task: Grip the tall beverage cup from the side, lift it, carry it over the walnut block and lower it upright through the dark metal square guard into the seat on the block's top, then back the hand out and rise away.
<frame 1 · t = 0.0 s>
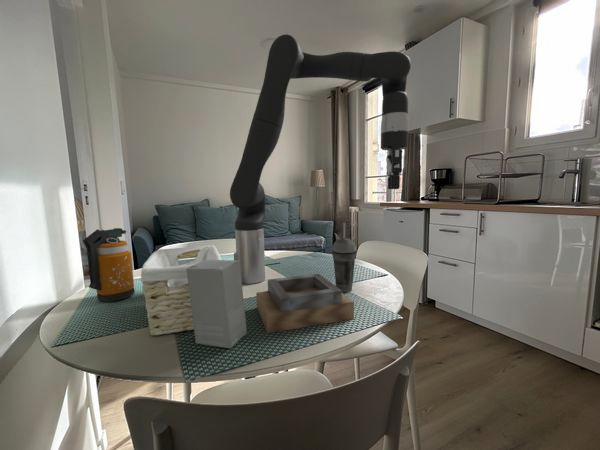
hand: (393, 189, 83), 29 cm above the table, tool pointing down, fingers open, 8 cm apart
canister: (113, 299, 81), on the table
skincare box: (219, 340, 57), on the table
storage basket: (188, 313, 71), on the table
cup block: (302, 312, 69), on the table
beverage cup: (344, 290, 85), on the table
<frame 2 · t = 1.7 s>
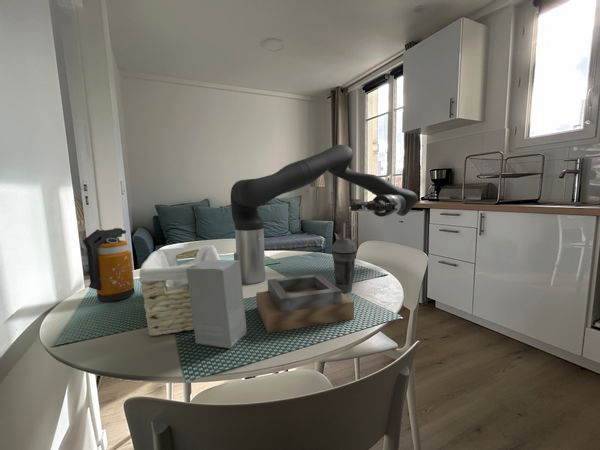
hand: (363, 208, 90), 24 cm above the table, tool horizontal, fingers open, 8 cm apart
nothing on the table moved.
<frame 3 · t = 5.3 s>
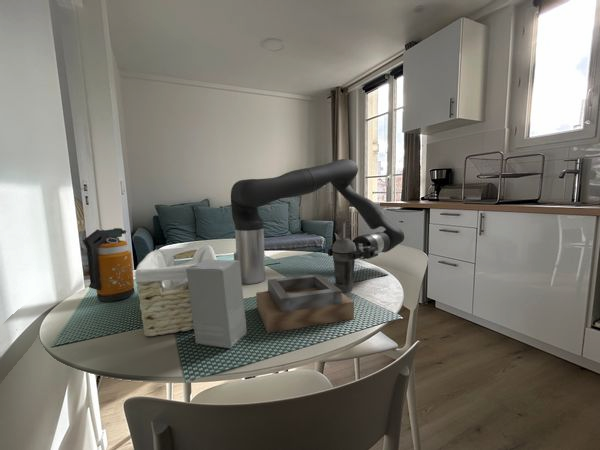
hand: (340, 254, 82), 11 cm above the table, tool horizontal, fingers closed on beverage cup, 7 cm apart
beverage cup: (344, 290, 85), on the table, touching gripper
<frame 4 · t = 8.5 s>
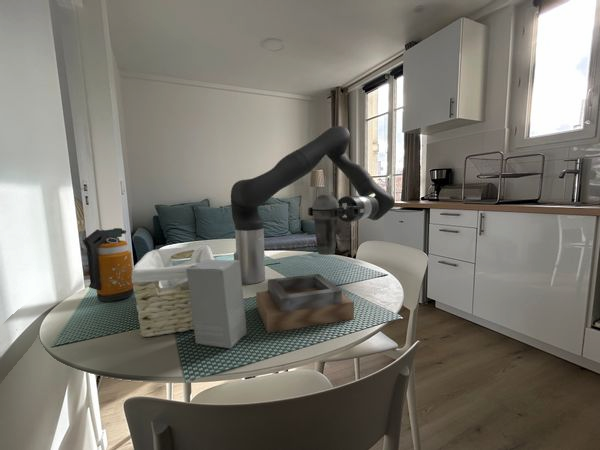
hand: (321, 212, 73), 24 cm above the table, tool horizontal, fingers closed on beverage cup, 7 cm apart
beverage cup: (326, 253, 76), point 13 cm above the table, touching gripper
when the fingers open (16 cm above the table, at t = 11.2 s): beverage cup drops 1 cm, resting on cup block.
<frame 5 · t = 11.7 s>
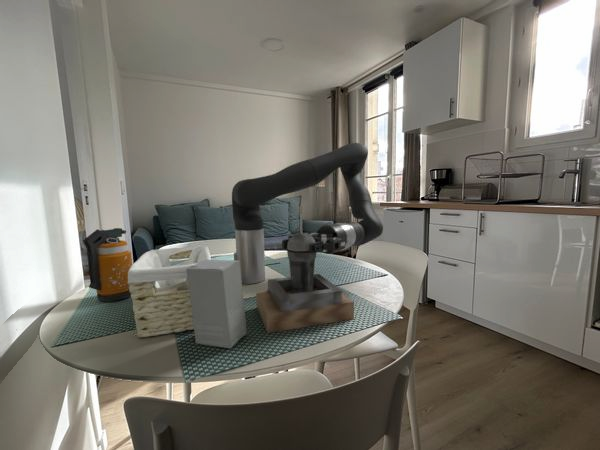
hand: (296, 246, 66), 17 cm above the table, tool horizontal, fingers open, 8 cm apart
beverage cup: (302, 297, 69), point 4 cm above the table, touching cup block
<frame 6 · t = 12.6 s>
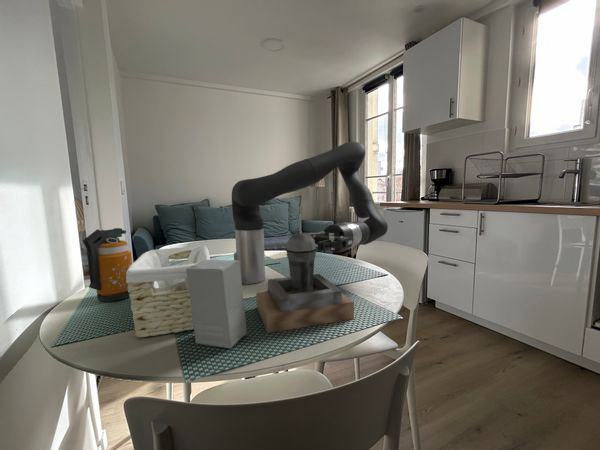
hand: (304, 244, 68), 16 cm above the table, tool horizontal, fingers open, 8 cm apart
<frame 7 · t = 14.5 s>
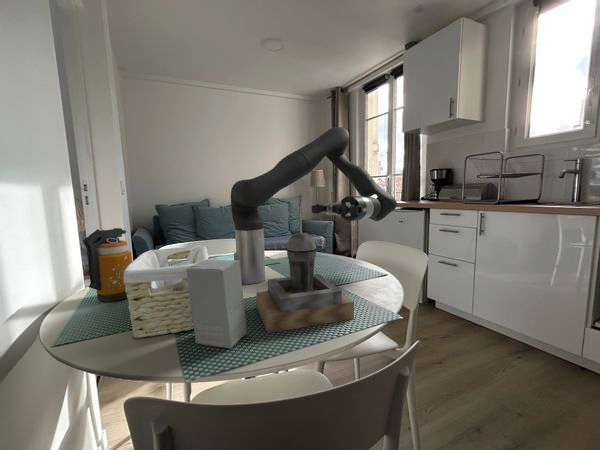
hand: (324, 209, 77), 24 cm above the table, tool horizontal, fingers open, 8 cm apart
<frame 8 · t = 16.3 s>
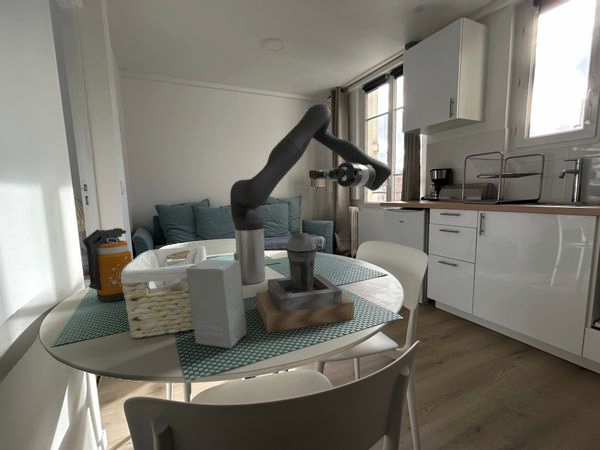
hand: (321, 173, 79), 34 cm above the table, tool horizontal, fingers open, 8 cm apart
at the end: beverage cup 0.3 cm off-centre on the cup block, point 3.8 cm above the cup block's base; beverage cup tilted 0°; the gripper is holding nothing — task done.
